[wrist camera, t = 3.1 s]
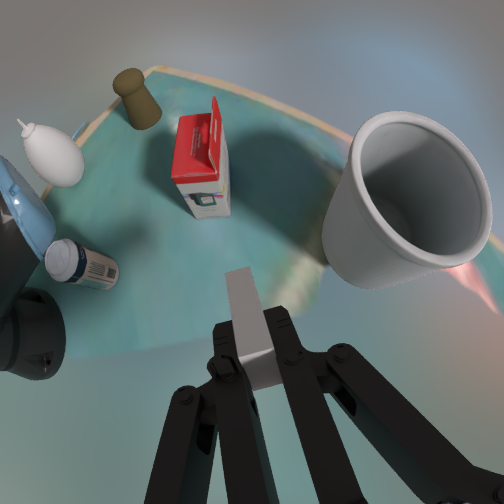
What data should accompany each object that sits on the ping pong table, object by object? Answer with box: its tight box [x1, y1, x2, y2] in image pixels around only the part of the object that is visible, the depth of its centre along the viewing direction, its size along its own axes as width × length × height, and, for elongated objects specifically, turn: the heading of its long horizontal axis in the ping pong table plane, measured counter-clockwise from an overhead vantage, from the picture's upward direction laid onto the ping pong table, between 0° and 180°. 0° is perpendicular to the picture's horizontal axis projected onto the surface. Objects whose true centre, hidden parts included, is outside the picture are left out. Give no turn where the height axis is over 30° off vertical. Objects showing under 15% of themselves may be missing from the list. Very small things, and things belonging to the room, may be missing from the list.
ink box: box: [171, 96, 231, 219], centre depth 32 cm, size 8×5×15 cm, turn 2°
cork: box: [113, 68, 162, 130], centre depth 38 cm, size 6×6×11 cm
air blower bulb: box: [17, 119, 85, 188], centre depth 32 cm, size 8×8×18 cm
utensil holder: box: [322, 111, 492, 289], centre depth 27 cm, size 15×15×18 cm
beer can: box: [44, 238, 119, 290], centre depth 30 cm, size 5×5×12 cm
